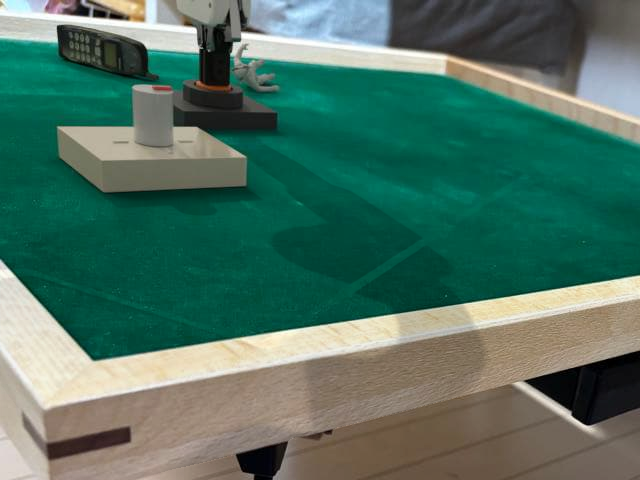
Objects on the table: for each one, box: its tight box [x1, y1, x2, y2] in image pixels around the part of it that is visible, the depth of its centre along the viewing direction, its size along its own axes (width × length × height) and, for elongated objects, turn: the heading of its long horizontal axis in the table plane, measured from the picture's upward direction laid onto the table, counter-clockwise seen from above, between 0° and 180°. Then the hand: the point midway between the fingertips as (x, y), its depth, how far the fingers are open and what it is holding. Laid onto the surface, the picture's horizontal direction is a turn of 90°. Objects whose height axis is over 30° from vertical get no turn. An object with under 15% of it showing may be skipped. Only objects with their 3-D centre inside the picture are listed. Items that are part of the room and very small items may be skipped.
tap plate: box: [56, 126, 248, 194], centre depth 87 cm, size 14×11×3 cm
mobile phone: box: [56, 23, 160, 81], centre depth 121 cm, size 5×3×15 cm
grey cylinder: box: [131, 84, 174, 147], centre depth 85 cm, size 4×4×5 cm
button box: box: [172, 78, 279, 131], centre depth 109 cm, size 12×10×4 cm
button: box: [196, 81, 231, 91], centre depth 108 cm, size 4×4×2 cm
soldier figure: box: [230, 43, 281, 93], centre depth 129 cm, size 8×5×12 cm
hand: (214, 84), depth 108 cm, fingers closed
